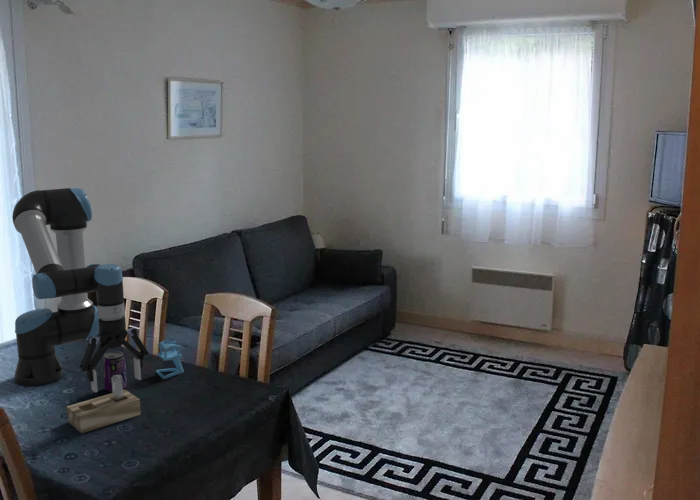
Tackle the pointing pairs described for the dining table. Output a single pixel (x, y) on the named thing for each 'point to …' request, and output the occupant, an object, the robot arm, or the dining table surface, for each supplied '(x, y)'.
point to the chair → (170, 358)
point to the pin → (117, 388)
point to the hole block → (102, 411)
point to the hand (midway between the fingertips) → (116, 384)
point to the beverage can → (114, 369)
